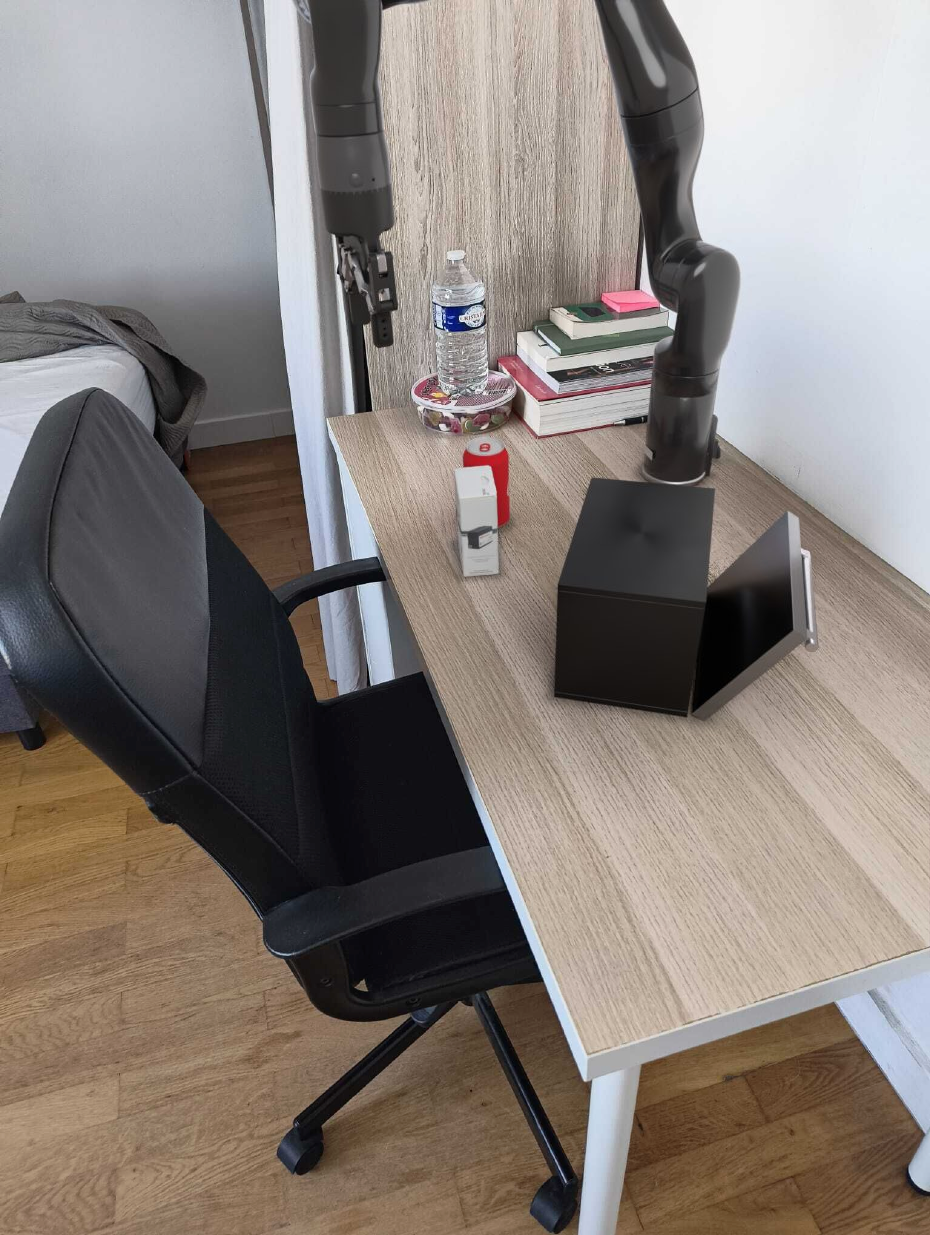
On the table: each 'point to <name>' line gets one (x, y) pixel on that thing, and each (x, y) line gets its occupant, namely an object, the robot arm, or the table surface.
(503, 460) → the beverage can
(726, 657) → the oven door
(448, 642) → the table surface
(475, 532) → the ink box
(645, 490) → the oven
